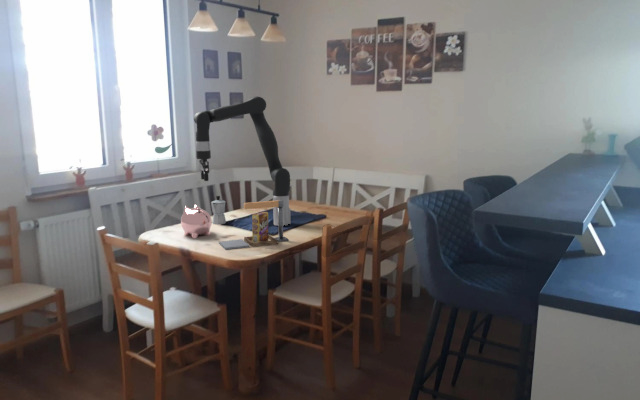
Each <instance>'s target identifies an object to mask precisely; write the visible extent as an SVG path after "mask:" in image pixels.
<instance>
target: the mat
mask: <svg viewBox="0 0 640 400" xmlns="http://www.w3.org/2000/svg"><path fill="white" fill-rule="evenodd" d="M218 244H219V245H220V246H221V247H222V249H224V250H226V251H227V250H237V249H244V248H250V245H249V244H248V243H246V242H245V241H244V239H241V238H240V239H230V240H222V241H221V240H220V241H218Z"/></svg>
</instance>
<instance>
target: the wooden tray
mask: <svg viewBox="0 0 640 400" xmlns="http://www.w3.org/2000/svg"><path fill="white" fill-rule="evenodd" d="M243 238H244V239H243V240H244V241H245V242H246V243H247V244H248V245H249V247H251V248H252V247H253V248H254V247H261V246H270V245H278V243H279V242H278V241H277V239H275V238H276V237H274V236H272V235H270V234H268V241H260V242H252V235H251V236H243Z"/></svg>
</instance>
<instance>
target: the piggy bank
mask: <svg viewBox="0 0 640 400" xmlns="http://www.w3.org/2000/svg"><path fill="white" fill-rule="evenodd" d="M212 220H213V219H212V217H211V215H210V213H209V212H208V211H207V210H206V209H205V210H204V209H203V208H201V207H200V206H199V205H197V204H194V206H193V207H188V206H186V205H185V207H184V208H183V212H182V215H181V217H180V224H181V227H182V229H183V233H184V236H191V238H192V239H197V238H198V237H199V236H200V235H204V236H211V232H210V231H211V227H212V224H213V223H212Z"/></svg>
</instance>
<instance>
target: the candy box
mask: <svg viewBox="0 0 640 400" xmlns="http://www.w3.org/2000/svg"><path fill="white" fill-rule="evenodd" d="M251 218H252V219H251V220H252V223H251V224H252V228H251V231H252V232H251V233H252V235H251V236H252V240H251V241H252V242H260V241H269V238H268V235H269V212H268V211H261V212H257V213H253V214H252V216H251Z"/></svg>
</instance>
